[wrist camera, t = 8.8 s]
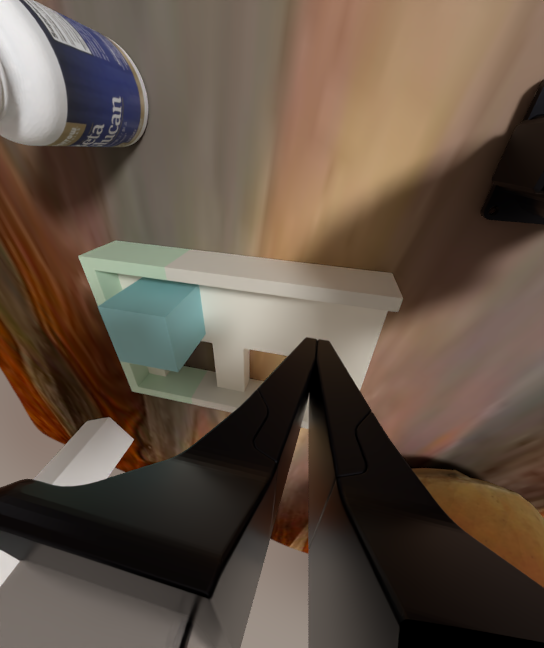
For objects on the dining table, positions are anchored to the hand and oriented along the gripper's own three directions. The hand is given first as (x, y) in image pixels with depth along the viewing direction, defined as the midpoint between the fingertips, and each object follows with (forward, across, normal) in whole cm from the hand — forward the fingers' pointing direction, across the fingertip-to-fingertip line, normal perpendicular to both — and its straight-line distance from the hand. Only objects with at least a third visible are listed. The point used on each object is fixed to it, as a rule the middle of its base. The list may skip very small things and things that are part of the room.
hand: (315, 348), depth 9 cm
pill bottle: (+12, +15, -8) cm, 21 cm away
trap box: (+12, +6, +10) cm, 16 cm away
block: (+10, +12, +6) cm, 17 cm away
